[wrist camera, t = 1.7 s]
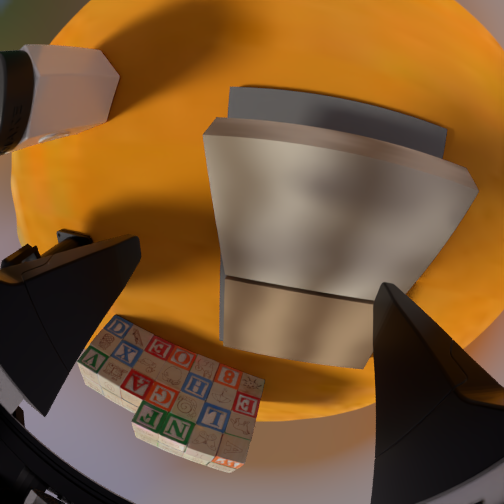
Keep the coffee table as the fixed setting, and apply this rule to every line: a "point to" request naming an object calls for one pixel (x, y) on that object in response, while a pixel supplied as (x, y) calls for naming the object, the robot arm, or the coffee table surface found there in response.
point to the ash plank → (329, 206)
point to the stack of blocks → (175, 394)
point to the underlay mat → (331, 125)
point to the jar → (52, 93)
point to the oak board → (297, 323)
